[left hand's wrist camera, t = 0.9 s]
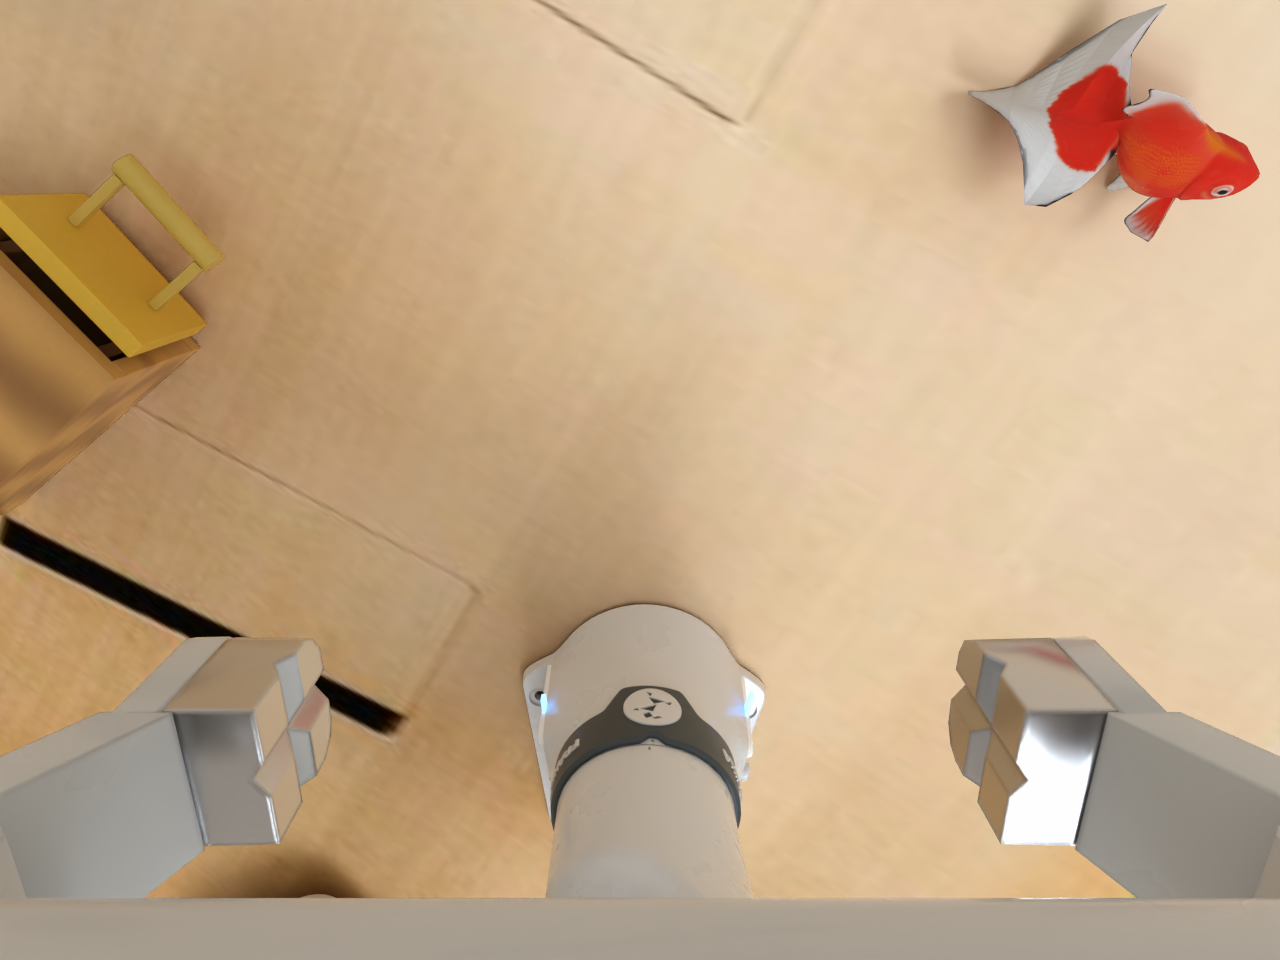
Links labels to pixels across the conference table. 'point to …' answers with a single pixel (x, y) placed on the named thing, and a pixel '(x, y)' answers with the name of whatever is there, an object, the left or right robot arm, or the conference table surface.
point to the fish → (1116, 131)
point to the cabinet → (59, 385)
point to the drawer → (107, 262)
